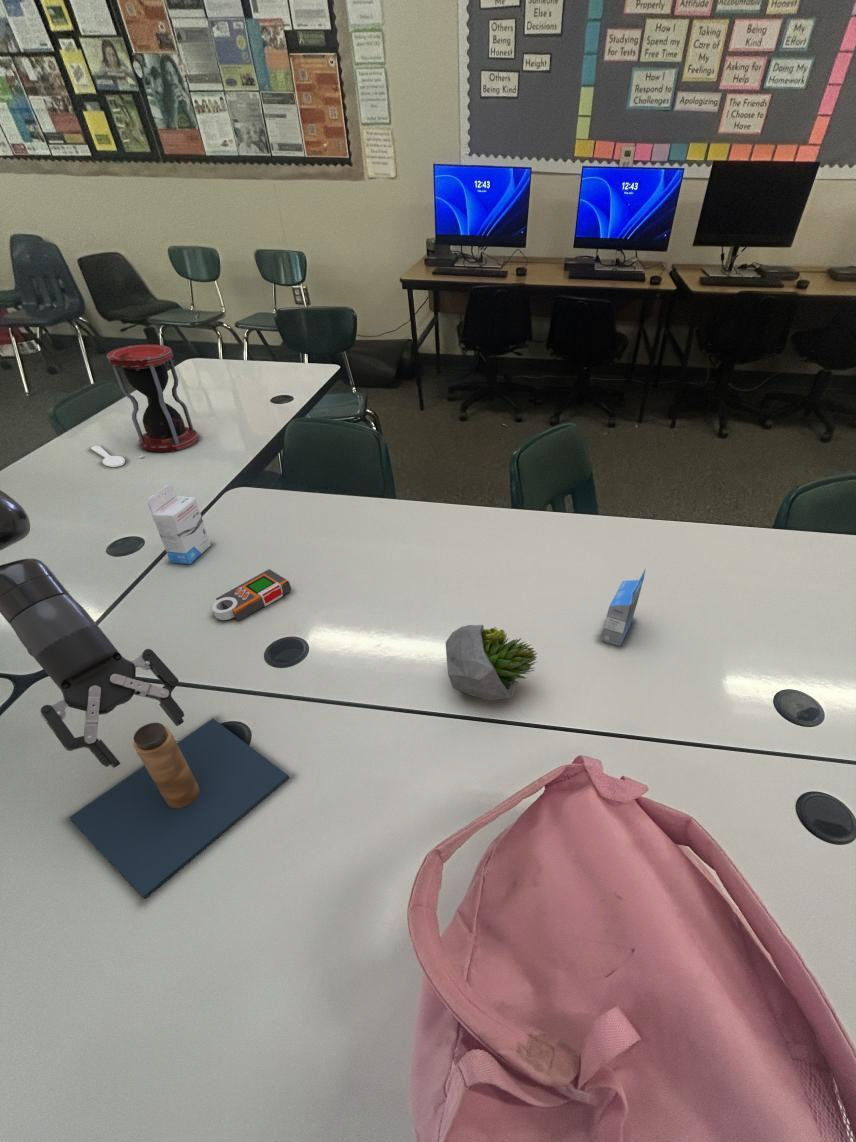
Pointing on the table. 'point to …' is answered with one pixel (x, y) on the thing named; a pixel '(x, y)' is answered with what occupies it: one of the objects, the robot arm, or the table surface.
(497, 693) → the potted plant
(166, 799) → the pepper mill
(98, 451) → the spoon
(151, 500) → the ink box
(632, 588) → the label tape box
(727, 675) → the table surface
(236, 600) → the electronic device
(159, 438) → the hourglass
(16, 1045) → the table surface
